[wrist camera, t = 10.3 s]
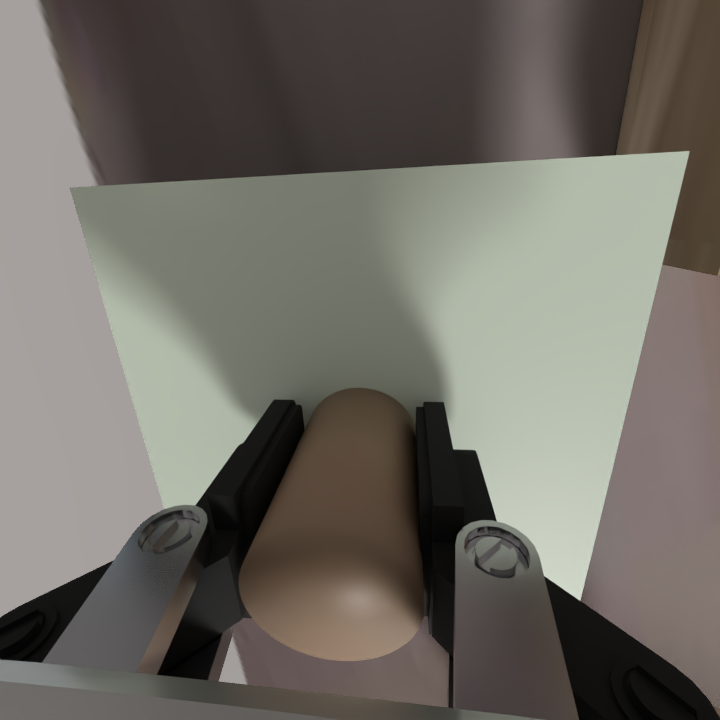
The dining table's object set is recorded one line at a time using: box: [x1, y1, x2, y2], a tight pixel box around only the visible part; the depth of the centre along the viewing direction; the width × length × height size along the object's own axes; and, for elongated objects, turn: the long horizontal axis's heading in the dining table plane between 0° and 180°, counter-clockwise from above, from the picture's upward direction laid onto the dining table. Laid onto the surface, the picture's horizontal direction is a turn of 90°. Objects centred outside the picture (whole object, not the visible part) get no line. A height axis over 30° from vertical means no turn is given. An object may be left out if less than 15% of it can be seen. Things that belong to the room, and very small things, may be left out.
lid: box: [70, 151, 690, 661], centre depth 9 cm, size 14×14×6 cm
